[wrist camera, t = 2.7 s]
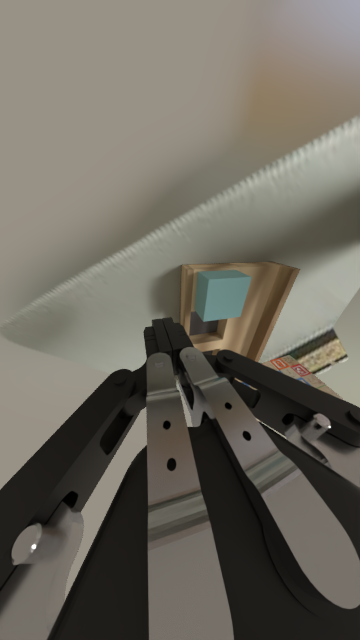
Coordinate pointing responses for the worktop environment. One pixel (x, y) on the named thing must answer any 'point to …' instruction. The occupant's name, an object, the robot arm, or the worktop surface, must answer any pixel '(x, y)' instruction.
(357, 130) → the worktop surface
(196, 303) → the block
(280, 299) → the board
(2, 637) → the robot arm
